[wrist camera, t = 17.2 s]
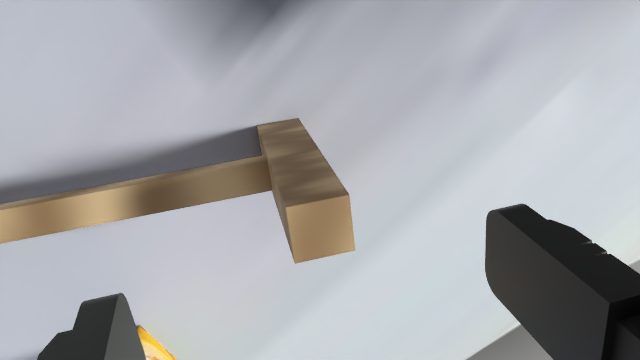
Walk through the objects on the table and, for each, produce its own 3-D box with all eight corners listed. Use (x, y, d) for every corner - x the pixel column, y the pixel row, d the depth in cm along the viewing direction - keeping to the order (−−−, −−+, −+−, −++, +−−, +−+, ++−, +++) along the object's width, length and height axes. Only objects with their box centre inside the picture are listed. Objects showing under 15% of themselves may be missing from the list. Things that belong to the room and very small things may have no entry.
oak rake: (296, 104, 36) (347, 175, 23) (305, 169, 38) (357, 267, 25) (-151, 181, 32) (-387, 318, 19) (-114, 250, 34) (-306, 416, 21)
